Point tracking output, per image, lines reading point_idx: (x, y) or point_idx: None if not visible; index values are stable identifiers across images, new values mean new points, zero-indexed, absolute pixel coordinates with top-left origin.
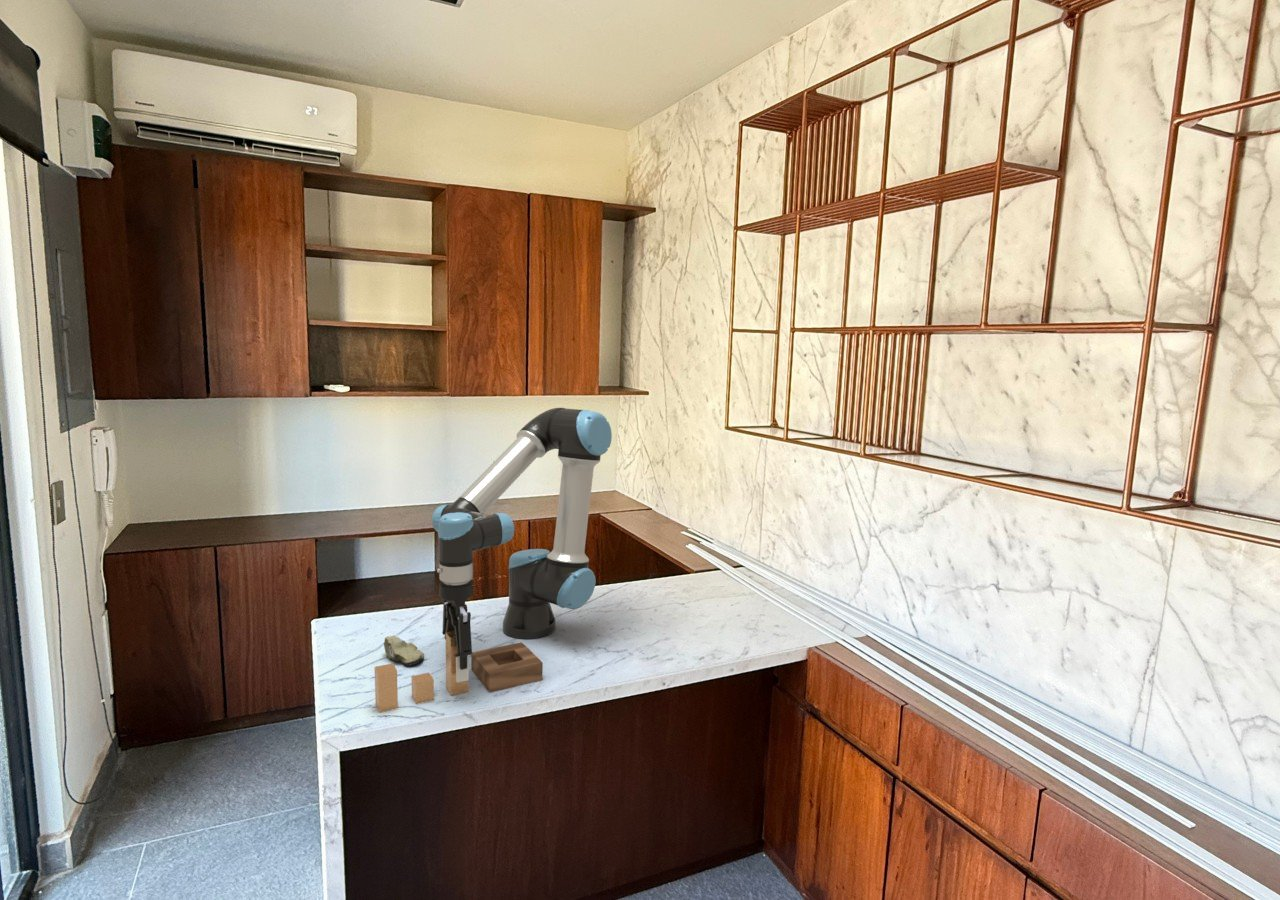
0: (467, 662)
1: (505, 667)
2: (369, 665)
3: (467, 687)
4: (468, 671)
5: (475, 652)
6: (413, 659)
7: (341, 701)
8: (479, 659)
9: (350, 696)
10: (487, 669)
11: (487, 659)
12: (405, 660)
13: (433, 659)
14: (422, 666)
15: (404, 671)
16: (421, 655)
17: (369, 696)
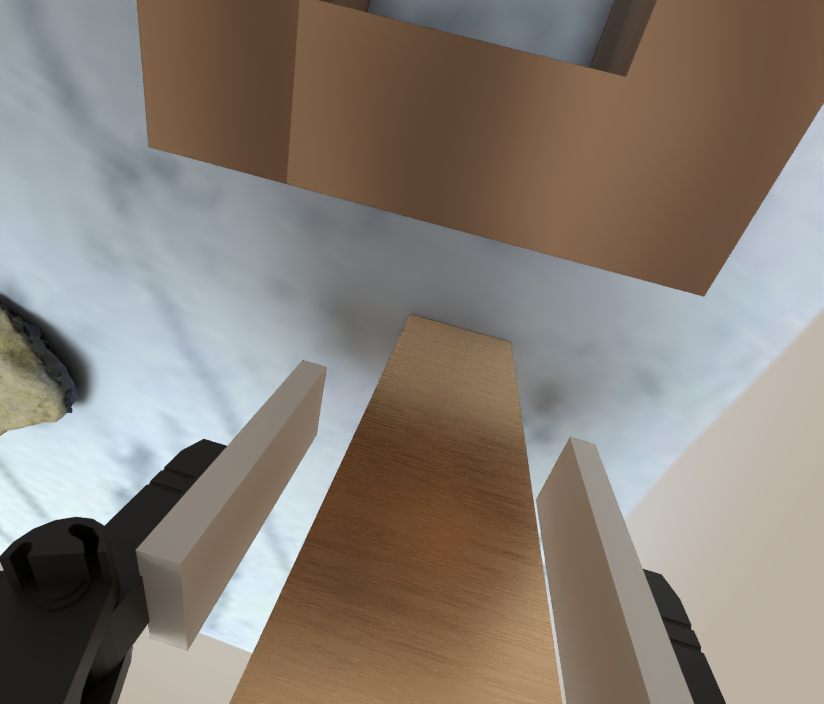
0: (645, 596)
1: (762, 30)
2: (20, 478)
3: (511, 357)
4: (614, 498)
5: (165, 107)
6: (48, 403)
7: (258, 632)
8: (340, 173)
9: (239, 609)
10: (600, 247)
11: (394, 97)
12: (41, 421)
13: (22, 261)
14: (93, 347)
15: (118, 426)
16: (11, 358)
17: (270, 586)
